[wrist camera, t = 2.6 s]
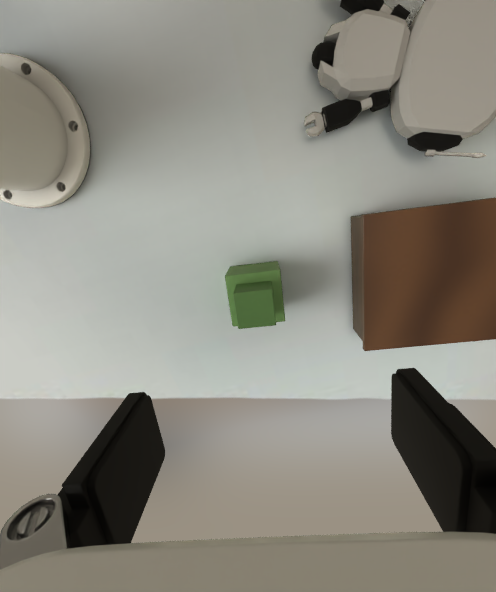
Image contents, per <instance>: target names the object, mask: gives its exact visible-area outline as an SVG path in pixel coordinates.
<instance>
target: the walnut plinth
mask: <svg viewBox="0 0 496 592" xmlns="http://www.w3.org/2000/svg"><path fill="white" fill-rule="evenodd" d="M351 249H352V293H353V329H354V330H355V332H356V333H357V334H358V336H359V337H360V338H361V340H362V341H363V349H364V351H369V350H380V349H391V348H402V347H413V346H424V345H436V344H447V343H458V342H469V341H480V340H491V339H496V198H488V199H480V200H472V201H464V202H457V203H449V204H441V205H433V206H425V207H417V208H410V209H402V210H394V211H386V212H378V213H371V214H363V215H359V216H351Z"/></svg>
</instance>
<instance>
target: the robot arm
mask: <svg viewBox="0 0 496 592" xmlns="http://www.w3.org/2000/svg"><path fill="white" fill-rule="evenodd" d="M77 127H78V129H77ZM89 159H90V138H89V133H88V129H87V124H86V122H85V119H84V116H83V114H82V111H81V109H80V107H79V105H78V104H77V102H76V100H75V98H74V97H73V95H72V94H71V93H70V92H69V90H68V89H67V88H66V87H65V85H64V84H63V83H62V82H61V81H60V80H59V79H57V78H56V77H55V76H54V75H53V74H52V73H50V72H49V71H47V70H46V69H44V68H43V67H41V66H40V65H39V64H37V63H35V62H33V61H31V60H29V59H27V58H25V57H21V56H18V55H14V54H8V53H0V199H1V200H3V201H5V202H8V203H10V204H13V205H16V206H21V207H27V208H44V207H51V206H54V205H57V204H59V203H62V202H63V201H65V200H66V199H68V198H69V197H71V196H72V195H73V194H74V193H75V192H76V190H77V189H78V188H79V187H80V185H81V183H82V181H83V180H84V178H85V175H86V172H87V169H88V166H89ZM65 186H66V188H65ZM391 412H392V415H391V419H392V420H391V427H392V428H391V434H392V439H393V442H394V444H395V446H396V448H397V449H398V451H399V453H400V455H401V456H402V458H403V460H404V462H405V464H406V466H407V467H408V469H409V471H410V473H411V475H412V476H413V478H414V480H415V482H416V483H417V485H418V487H419V489H420V491H421V493H422V494H423V496H424V498H425V500H426V501H427V503H428V505H429V507H430V509H431V510H432V512H433V514H434V516H435V518H436V519H437V521H438V523H439V525H440V527H441V528H442V530H443V532H406V533H405V532H399V533H369V534H338V535H310V536H283V537H258V538H236V539H235V538H234V539H209V540H189V541H167V542H146V543H131V540H132V538H133V536H134V533H135V531H136V528H137V526H138V523H139V520H140V518H141V516H142V513H143V511H144V508H145V506H146V503H147V501H148V498H149V496H150V493H151V491H152V488H153V485H154V483H155V481H156V478H157V476H158V473H159V471H160V468H161V465H162V463H163V461H164V457H165V448H164V444H163V441H162V437H161V433H160V430H159V426H158V422H157V419H156V415H155V411H154V408H153V404H152V400H151V397H150V396H147V395H146V393H144V392H139V393H130V394H128V395H127V397H126V398H125V400H124V401H123V402H122V404H121V405H120V407H119V408H118V409H117V411H116V412H115V413H114V415H113V416H112V417H111V419H110V420H109V421H108V423H107V424H106V425H105V427H104V428H103V430H102V431H101V433H100V434H99V435H98V437H97V438H96V439H95V441H94V442H93V443H92V445H91V446H90V447H89V449H88V450H87V451H86V453H85V454H84V456H83V457H82V458H81V460H80V461H79V462H78V464H77V465H76V467H75V468H74V469H73V471H72V472H71V473H70V475H69V476H68V477H67V479H66V480H65V482H64V483H63V484H62V487H63V488H62V490H61V491H60V492H59V494H58V495H56V494H46V495H42V496H39V497H37V498H35V499H33V500H31V501H29V502H28V503H26V504H25V505H23V506H22V507H21V508H19V509H18V510H17V511H16V512H15V513H14V514H13V515H12V516H11V517H10V518H9V519H8V520H7V522H6V523H5V525H4V527H3V528H2V530H1V533H0V592H496V448H495V447H493V445H492V444H491V443H490V442H489V441H488V440H487V439H486V438H485V437H484V436H483V435H482V434H481V433H480V432H479V431H478V430H477V429H476V428H475V427H474V426H473V425H472V424H471V423H470V422H469V421H468V420H467V418H465V416H463V415H462V413H461V412H460V411H459V410H458V409H457V408H456V407H455V406H453V405H452V404H449V403H448V402H447V401H446V400H445V399H444V398H443V397H442V396H441V395H440V394H439V393H438V392H437V391H436V389H435V388H434V387H433V386H432V385H431V384H430V383H429V382H428V381H427V380H426V379H425V378H424V377H423V376H422V375H421V374H420V373H419V372H418V371H417V370H416V369H415V368H408V369H398V370H397V371H396V374H392V410H391Z"/></svg>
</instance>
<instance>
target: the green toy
mask: <svg viewBox="0 0 496 592" xmlns="http://www.w3.org/2000/svg"><path fill="white" fill-rule="evenodd" d="M225 280H226V286H227V293H228V299H229V306H230V312H231V319H232V325H233V326H238V328H239V329H242V328H252V327H262V326H272V325H276V322H282V321H285V314H284V304H283V294H282V283H281V273H280V268H279V265H278V261H273V262H264V263H256V264H247V265H239V266H231V267H230V268H229V270H228V272H227V274H226V275H225Z"/></svg>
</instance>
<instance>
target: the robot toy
mask: <svg viewBox="0 0 496 592" xmlns="http://www.w3.org/2000/svg"><path fill="white" fill-rule="evenodd" d="M340 7H342V8H343V9H344V10H346V11H347V12H349V13H350V14H351V15H352V16H351V17H350V18H348V19H347V20H344V21H342V22H339V23H336V24H333V25H332V26H331V27H330V29H329V31H328V32H327V34H326V36H325V37H324V42H323V43H320V44H319V45H317V46H316V48H315V49H314V51H313V54H312V63H313V66H314V67H315V68H316V69H318V78H319V82H320V85H321V86H323V87H325V88H326V89H328V90H330V91H332V92H333V94H334V95H335V97H336V98H338V99H340V100H341V101H338V102H336V103H333V104H331V105H328V106H326V107H323V108H322V113H317V112H312V113H310V114H309V115H308V116H306V117H305V120H304V125H305V126H307V125H309V124H312V123H314V124H315V127H312V128H309V129H306V133H307V135H309V136H310V137H313V136H319V135H320V134H321V133H322V132H323V131H324V130H326V132H330V131H333V130H335V129H338V128H341V127H343V126H346V125H348V124H349V123H350V122H351V121H353V120H354V119H355V118H356V117H357V116H358V114H359V113H360V112H361V111H364V110H366V109H369V108H370V110H371V111H372V112H374V111H377V110H379V109H382V108H385V107H387V106H388V104H389V102H391V118H392V122H393V124H394V127H395V129H396V132H397V133H399V134H401V135H402V136H404V137H405V138H407V140H408V145H410V146H412V147H414V148H415V149H417V150H419V151H426V153H425V156H434V155H447V156H467V157H473V158H480V157H484V156H486V155H485V154H483V153H455V152H441V151H444V150H447V149H450V148H452V147H455V146H458V145H459V144H460V142H461V141H462V140H463V139H465V138H468V137H470V136H473V135H475V134H478V133H480V132H481V131H482V130H483V129H484V128H485V127H486V126H487V125H488V124H489V123H490V122H491V121H492V120H493V119H494V117H495V116H496V0H426V1H425V3H424V4H423V6H422V7H421V9H420V10H419V12H418V13H417V15H416V16H415V18H414V20H413V21H412V23H411V25H410V27H409V28H408V25H407V23H406V19H407V17H408V15H409V14H410V12H409V11H408V10H406V9H405V8H403V7H402V6H401V5H397V6H396V7H395V8H394V9H391V8H390V7H388V6H387V5H386V4H384V1H383V0H341V3H340ZM390 88H391V97H390V99H389V91H388V90H389V89H390Z"/></svg>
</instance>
